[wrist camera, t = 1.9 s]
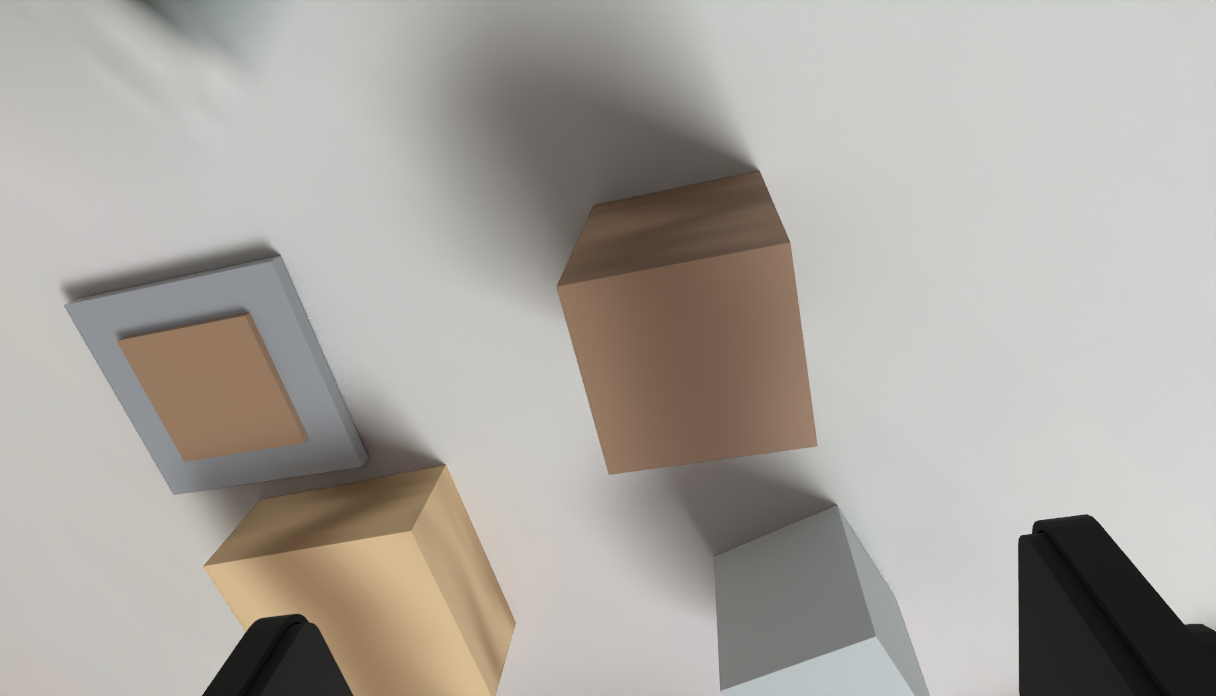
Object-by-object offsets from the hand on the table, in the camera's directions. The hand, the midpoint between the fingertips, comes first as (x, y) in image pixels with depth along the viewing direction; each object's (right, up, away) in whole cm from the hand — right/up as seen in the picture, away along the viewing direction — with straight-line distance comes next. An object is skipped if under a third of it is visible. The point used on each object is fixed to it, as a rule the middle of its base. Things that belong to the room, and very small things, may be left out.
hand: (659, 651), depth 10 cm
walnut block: (+2, +7, +13) cm, 15 cm away
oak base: (-9, -5, +20) cm, 22 cm away
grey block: (+7, -5, +18) cm, 20 cm away
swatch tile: (-14, +3, +16) cm, 22 cm away
